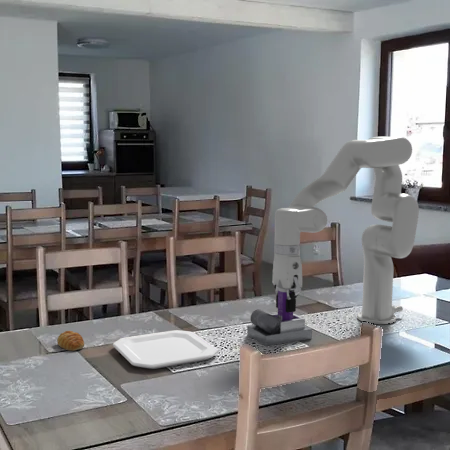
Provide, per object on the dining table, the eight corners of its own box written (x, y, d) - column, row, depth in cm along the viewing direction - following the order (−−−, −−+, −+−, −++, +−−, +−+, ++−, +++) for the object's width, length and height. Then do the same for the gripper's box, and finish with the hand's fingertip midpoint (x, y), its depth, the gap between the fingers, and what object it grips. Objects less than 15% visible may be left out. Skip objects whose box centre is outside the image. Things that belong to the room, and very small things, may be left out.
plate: (137, 376, 154) (137, 367, 154) (108, 346, 176) (108, 339, 176) (224, 360, 166) (224, 352, 165) (187, 335, 187) (187, 328, 187)
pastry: (90, 349, 174) (90, 336, 173) (67, 354, 170) (67, 340, 169) (76, 340, 181) (76, 328, 181) (54, 345, 177) (54, 332, 177)
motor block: (291, 328, 193) (292, 303, 192) (311, 338, 184) (312, 312, 183) (247, 335, 186) (247, 309, 185) (265, 346, 177) (266, 319, 176)
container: (292, 325, 183) (293, 276, 181) (276, 324, 184) (277, 275, 182) (293, 321, 187) (294, 273, 185) (278, 320, 188) (279, 272, 186)
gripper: (313, 253, 177) (312, 315, 179) (282, 244, 192) (281, 301, 194) (291, 255, 173) (290, 318, 176) (261, 246, 188) (260, 304, 191)
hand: (285, 308), depth 185 cm, fingers closed on container, 4 cm apart
